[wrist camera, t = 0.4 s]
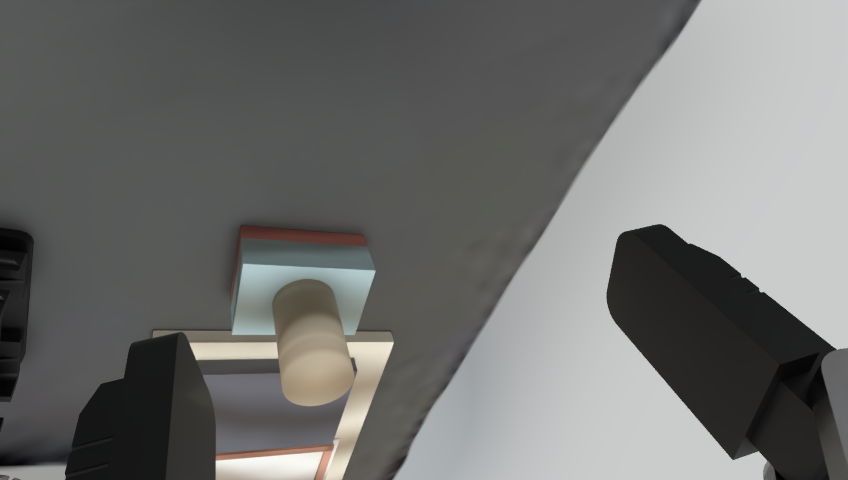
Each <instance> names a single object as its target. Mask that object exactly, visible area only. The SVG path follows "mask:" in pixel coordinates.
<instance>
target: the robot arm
mask: <svg viewBox="0 0 848 480" xmlns="http://www.w3.org/2000/svg"><path fill="white" fill-rule="evenodd" d="M607 304H608V308H609V311H610V314H611V316H612V318H613V319H614V321H615V323H616V324H617V325H618V326H619V328H620V329H621V330H622V331H623V332H624V333H625V335H627V337H628V338H629V339H630V340H631V342H632V343H633V344H634V345H635V346H636V347H637V349H638V350H639V351H640V352H641V353H642V354H643V356H644V357H645V358H646V359H647V360H648V361H649V363H650V364H651V365H652V366H653V367H654V368H655V370H656V371H657V372H658V373H659V374H660V375H661V377H662V378H663V379H664V380H665V381H666V382H667V384H668V385H669V386H670V387H671V388H672V389H673V391H674V392H675V393H676V394H677V395H678V396H679V398H680V399H681V400H682V401H683V402H684V403H685V405H686V406H687V407H688V408H689V409H690V410H691V412H692V413H693V414H694V415H695V416H696V418H697V419H698V420H699V421H700V422H701V423H702V424H703V426H704V427H705V428H706V429H707V430H708V432H710V434H711V435H712V436H713V437H714V439H715V440H716V441H717V442H718V443H719V444H720V446H721V447H722V448H723V449H724V450H725V451H726V453H727V454H728V455H729V456H730V457H731V458H732V459H733V460H735V459H737V458H740V457H743V456H746V455H749V454H752V453H755V452H758V451H759V452H760V453H761V454H762V455H763V456H764V457H765V458H766V460H767V462H766V464H765V466H764V470H763V476H764V480H848V348H846V349H838V350H837V349H835V348H834V347H832V346H831V345H830V344H829V343H827V342H826V341H825V340H823V339H822V338H821V337H820V336H819V335H817V334H816V333H815V332H814V331H812V330H811V329H810V328H808V327H807V326H806V325H805V324H803V323H802V322H801V321H800V320H798V319H797V318H796V317H795V316H793V315H792V314H791V313H790V312H788V311H787V310H786V309H785V308H783V307H782V306H781V305H779V304H778V303H777V302H776V301H775V300H773V299H772V298H771V297H769V296H768V295H767V294H766V293H764V292H762V293H761V292H760V291H759V288H758V287H757V286H756V285H754V284H753V283H752V282H750V281H749V280H748V279H747V278H742V277H741V274H740V273H739V272H738V271H737V270H735V269H734V268H733V267H732V266H730V265H729V264H728V263H727V262H725V261H724V260H723V259H722V258H720V257H719V256H717V255H715V254H712V253H710V252H708V251H706V250H704V249H702V248H700V247H697V246H695V245H693V244H688V243H686V242H685V241H684V240H683V239H682V238H680V237H679V236H678V235H677V234H675V233H674V232H673V231H672V230H671V229H669V228H668V227H666V226H664V225H661V224H658V225H652V226H648V227H644V228H640V229H635V230H631V231H626V232H623V233H622V234H620V236H619V237H618V239H617V243H616V248H615V253H614V258H613V263H612V268H611V274H610V278H609V283H608V289H607ZM72 450H73V451H72V452H71V453H70V455H69V459H68V463H67V467H66V471H65V475H66V480H216V422H215V413H214V408H213V403H212V399H211V395H210V392H209V390H208V387H207V385H206V382H205V380H204V378H203V375H202V373H201V370H200V368H199V365H198V363H197V361H196V358H195V356H194V353H193V351H192V348H191V346H190V343H189V341H188V339H187V337H186V335H185V334H184V333H183V332H177V333H173V334H169V335H164V336H160V337H155V338H151V339H147V340H142V341H138V342H134V343H132V344H131V346H130V348H129V353H128V358H127V364H126V369H125V375H124V378H123V379H119V380H115V381H111V382H107V383H103V384H101V385H100V386H99V388H98V389H97V390H96V392H95V393H94V395H93V396H92V397H91V399H90V400H89V402H88V403H87V405H86V406H85V407H84V409H83V410H82V412H81V413H80V415H79V419H78V423H77V427H76V431H75V435H74V439H73V443H72Z"/></svg>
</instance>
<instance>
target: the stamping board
mask: <svg viewBox="0 0 848 480" xmlns="http://www.w3.org/2000/svg"><path fill="white" fill-rule="evenodd" d="M177 332H183V333H184V334H185V335H186V337H187V339H188V341H189V343H190V346H191V348H192V351H193V353H194V356H195V358H196V361H197V363H198V365H199V368H200V370H201V373H202V375H203V378H204V380H205V382H206V385H207V387H208V390H209V392H210V395H211V399H212V403H213V408H214V413H215V422H216V480H342V478H343V475H344V472H345V470H346V467H347V464H348V462H349V459H350V457H351V454H352V451H353V449H354V446H355V443H356V441H357V438H358V436H359V433H360V430H361V428H362V425H363V422H364V420H365V417H366V415H367V412H368V409H369V407H370V404H371V401H372V399H373V396H374V394H375V391H376V388H377V386H378V383H379V380H380V378H381V375H382V373H383V370H384V367H385V365H386V362H387V359H388V357H389V354H390V351H391V349H392V346H393V344H394V340H393V337H392V334H391V332H368V331H356V333H355V335H345V339H346V343H347V347H348V351H349V355H350V359H351V363H352V367H353V371H354V382H353V384H352V386H351V388H350V389H349V390H348V391H347V392H346V393H345V394H344V395H343V396H341V397H340V398H338V399H336V400H334V401H332V402H329V403H326V404H323V405H318V406H302V405H297V404H294V403H292V402H290V401H289V400H288V399H287V398H286V397H285V396H284V394H283V391H282V384H281V376H280V367H279V359H278V351H277V342H276V335H232V331H175V330H153V338H155V337H160V336H164V335H169V334H173V333H177Z"/></svg>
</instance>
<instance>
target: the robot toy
mask: <svg viewBox="0 0 848 480" xmlns="http://www.w3.org/2000/svg"><path fill="white" fill-rule="evenodd" d="M8 479H9V476H6V475H0V480H8ZM13 480H20V479H17V478H14V479H13Z"/></svg>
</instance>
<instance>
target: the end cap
mask: <svg viewBox="0 0 848 480" xmlns="http://www.w3.org/2000/svg"><path fill="white" fill-rule="evenodd" d="M33 244H34V242H33V239H32V237H31V236H30V235H29V234H27V233H26V232H22V231H19V230H12V229H4V228H0V402H11V399H12V396H13V393H14V390H15V387H16V384H17V380H18V376H19V371H20V363H21V362H22V360H23V358H24V355H25V349H26V335H27V322H28V309H29V296H30V283H31V270H32V257H33ZM3 420H4V418H0V431H1V428H2V425H3Z"/></svg>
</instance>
